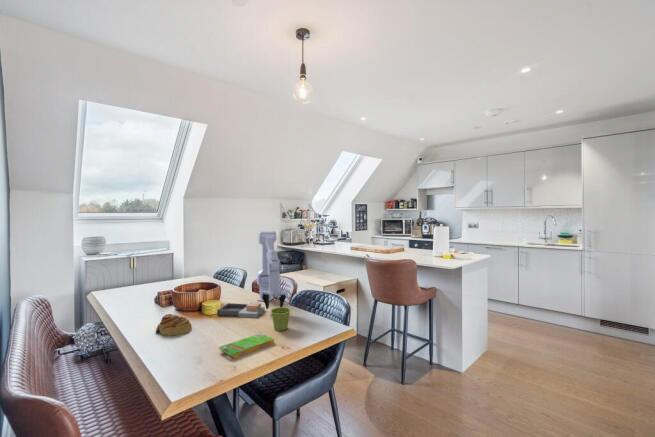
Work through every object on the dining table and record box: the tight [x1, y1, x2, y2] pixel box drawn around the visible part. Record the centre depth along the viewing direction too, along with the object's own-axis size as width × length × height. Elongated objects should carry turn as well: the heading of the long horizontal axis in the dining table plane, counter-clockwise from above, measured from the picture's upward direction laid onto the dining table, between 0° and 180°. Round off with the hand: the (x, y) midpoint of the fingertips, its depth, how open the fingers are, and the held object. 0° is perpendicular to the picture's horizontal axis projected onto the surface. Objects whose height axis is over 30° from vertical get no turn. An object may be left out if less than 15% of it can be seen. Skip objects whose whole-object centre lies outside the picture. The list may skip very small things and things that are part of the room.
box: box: [216, 302, 248, 318], centre depth 172 cm, size 12×12×3 cm
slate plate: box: [238, 306, 266, 318], centre depth 170 cm, size 12×10×2 cm
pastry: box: [155, 313, 193, 337], centre depth 146 cm, size 13×15×8 cm
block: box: [246, 302, 262, 311], centre depth 172 cm, size 6×6×2 cm
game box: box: [217, 332, 275, 359], centre depth 128 cm, size 3×10×20 cm
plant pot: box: [270, 306, 292, 332], centre depth 149 cm, size 9×9×9 cm
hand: (274, 308), depth 170 cm, fingers open, 7 cm apart
